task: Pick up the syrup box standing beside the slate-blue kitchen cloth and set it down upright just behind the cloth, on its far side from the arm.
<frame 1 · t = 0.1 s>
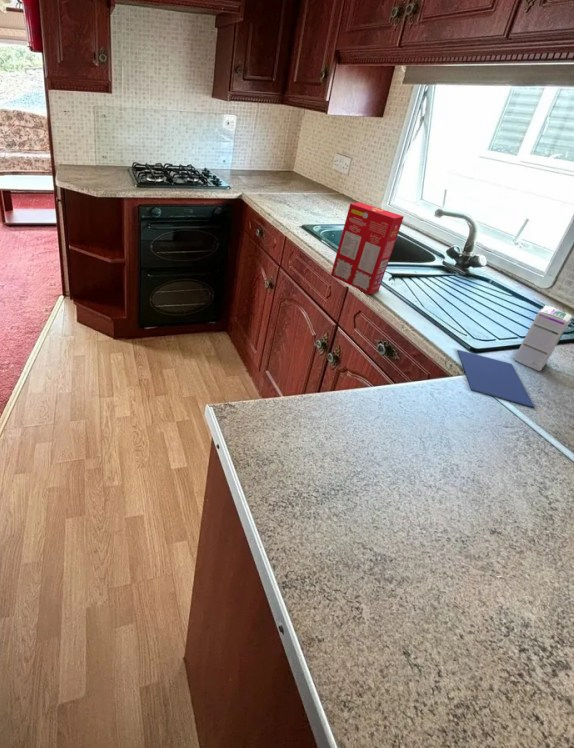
syrup box: (528, 362, 101), on the countertop
cloth: (492, 376, 94), on the countertop
food packaging: (353, 283, 133), on the countertop
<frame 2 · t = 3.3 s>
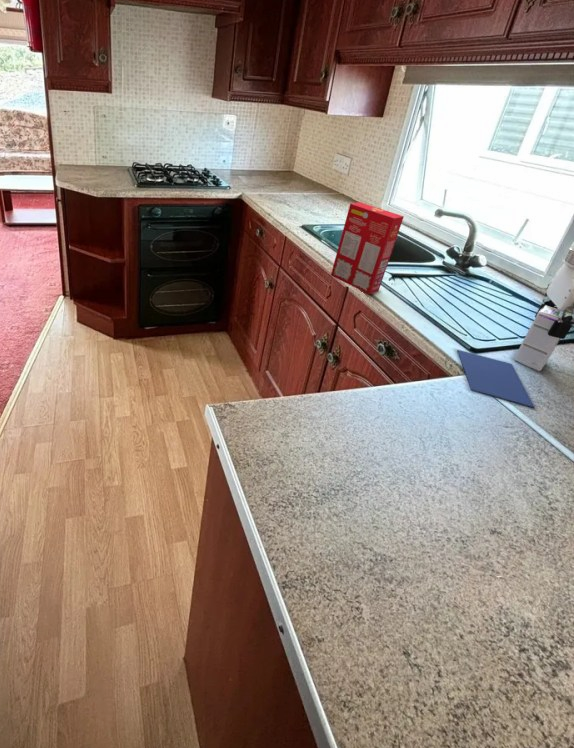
hand: (548, 327, 97), 10 cm above the countertop, tool pointing down, fingers closed on syrup box, 7 cm apart
syrup box: (528, 362, 101), on the countertop, touching gripper
everything else where it was.
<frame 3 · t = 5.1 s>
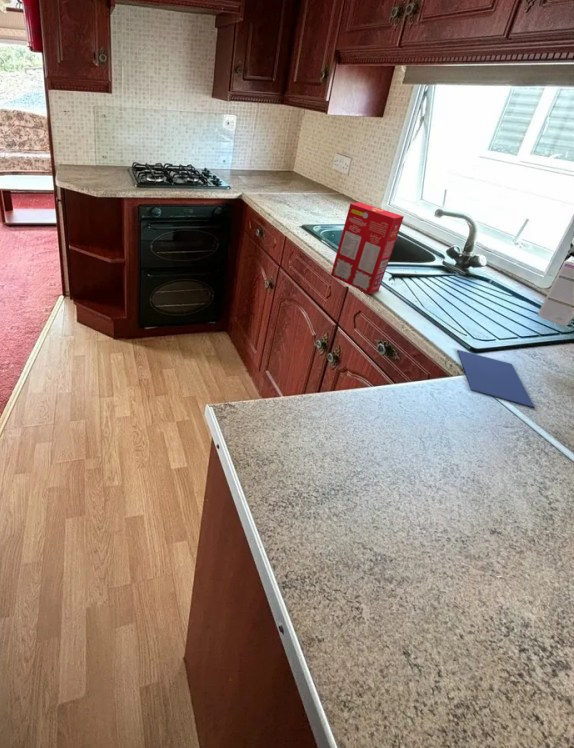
syrup box: (553, 318, 95), point 13 cm above the countertop, touching gripper
everything else where it was.
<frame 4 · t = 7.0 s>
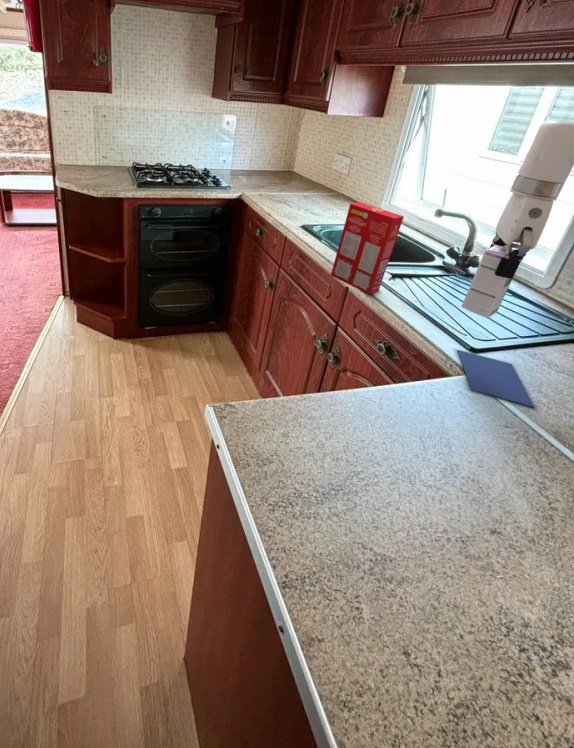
hand: (497, 268, 86), 25 cm above the countertop, tool pointing down, fingers closed on syrup box, 7 cm apart
syrup box: (477, 310, 91), point 15 cm above the countertop, touching gripper
everything else where it was.
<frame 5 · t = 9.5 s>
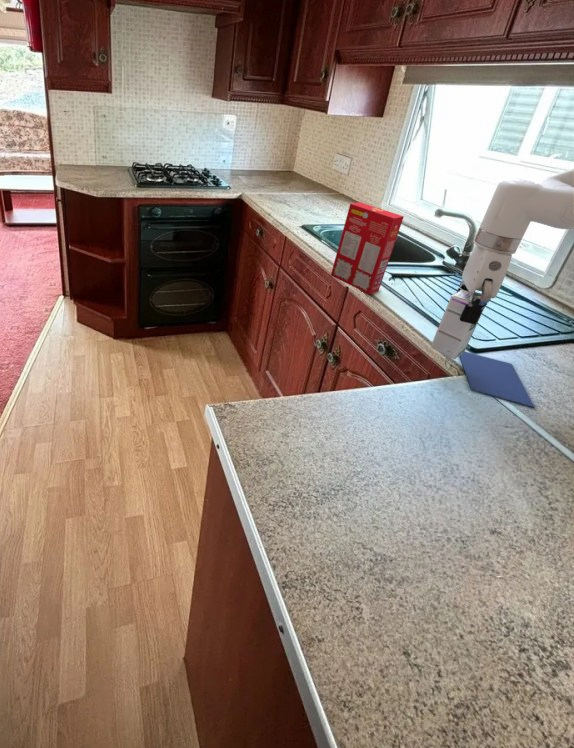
hand: (463, 312, 91), 14 cm above the countertop, tool pointing down, fingers closed on syrup box, 7 cm apart
syrup box: (446, 350, 96), point 4 cm above the countertop, touching gripper
everything else where it was.
when the fingers open (10 cm above the countertop, at t = 11.1 s): syrup box stays where it is, on the countertop.
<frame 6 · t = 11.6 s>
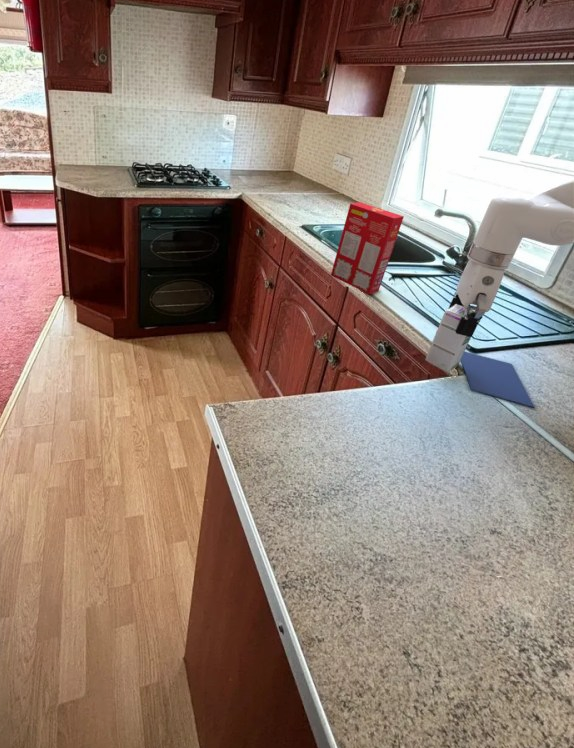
hand: (458, 323, 92), 11 cm above the countertop, tool pointing down, fingers open, 9 cm apart
syrup box: (440, 363, 97), on the countertop
everything else where it was.
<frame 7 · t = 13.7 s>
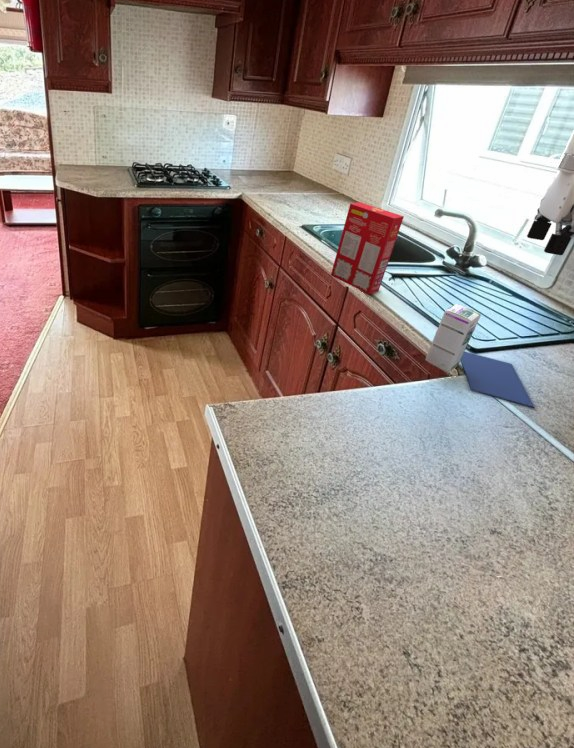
hand: (543, 245, 87), 30 cm above the countertop, tool pointing down, fingers open, 9 cm apart
nothing on the countertop moved.
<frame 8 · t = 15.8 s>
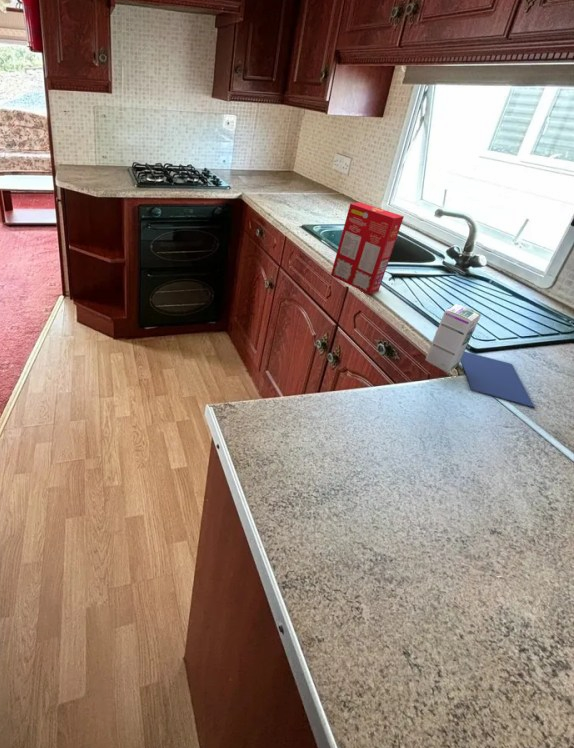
nothing on the countertop moved.
at the end: syrup box inside the target area (1.9 cm from its centre), on the countertop; syrup box tilted 0°; the gripper is holding nothing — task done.
